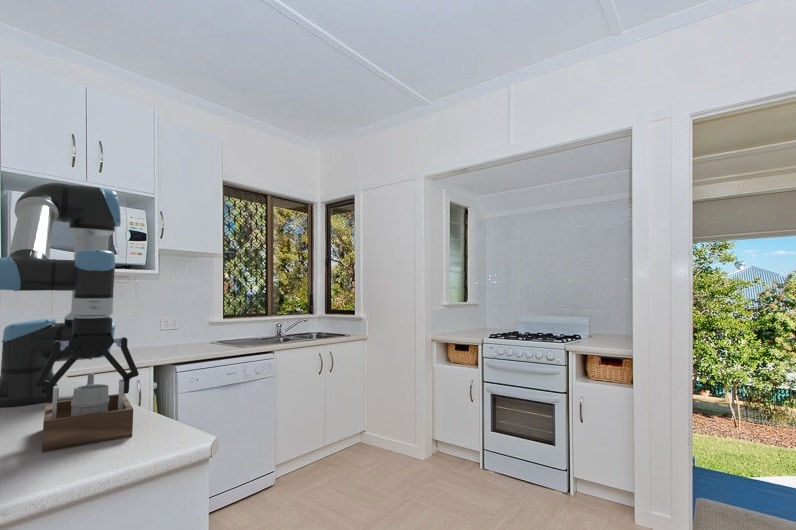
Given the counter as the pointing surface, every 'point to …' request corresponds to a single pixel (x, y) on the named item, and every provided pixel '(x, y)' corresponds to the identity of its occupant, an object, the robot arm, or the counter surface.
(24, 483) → the counter surface
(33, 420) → the counter surface
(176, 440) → the counter surface
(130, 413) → the wooden box
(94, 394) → the mug
